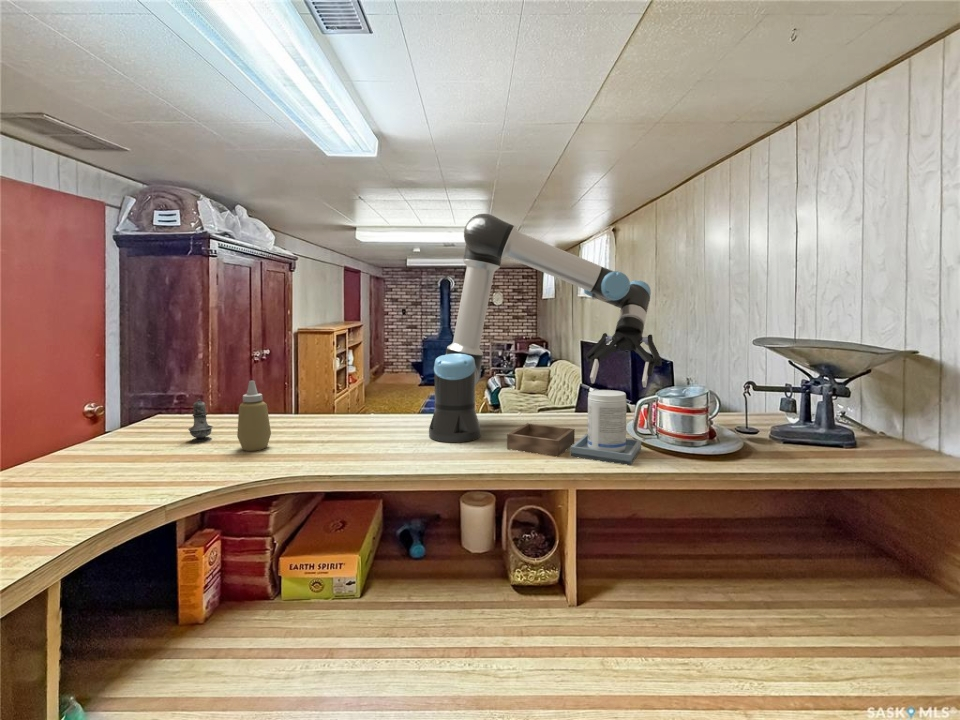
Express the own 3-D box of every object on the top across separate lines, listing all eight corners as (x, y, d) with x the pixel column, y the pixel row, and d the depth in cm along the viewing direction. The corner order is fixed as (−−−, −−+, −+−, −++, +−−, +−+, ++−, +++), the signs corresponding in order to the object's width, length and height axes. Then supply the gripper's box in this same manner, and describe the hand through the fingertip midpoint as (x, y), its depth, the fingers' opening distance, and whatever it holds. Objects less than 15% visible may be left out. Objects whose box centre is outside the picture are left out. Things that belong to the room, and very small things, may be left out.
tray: (570, 456, 119) (570, 446, 119) (586, 442, 132) (586, 433, 132) (630, 465, 112) (630, 455, 112) (640, 449, 125) (641, 440, 125)
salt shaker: (184, 441, 131) (181, 399, 130) (203, 436, 137) (201, 395, 136) (199, 444, 129) (196, 400, 128) (218, 438, 135) (215, 397, 133)
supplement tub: (632, 449, 122) (634, 392, 120) (613, 457, 115) (614, 397, 114) (599, 441, 129) (601, 388, 127) (579, 448, 122) (580, 392, 121)
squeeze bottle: (276, 448, 126) (274, 380, 124) (245, 454, 120) (241, 384, 118) (264, 442, 131) (261, 377, 129) (233, 448, 125) (229, 381, 123)
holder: (507, 449, 125) (507, 434, 125) (527, 436, 138) (527, 423, 137) (557, 456, 119) (558, 441, 118) (574, 443, 131) (574, 428, 131)
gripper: (677, 334, 135) (668, 394, 123) (590, 331, 146) (574, 386, 135) (676, 315, 129) (666, 377, 118) (586, 314, 141) (569, 370, 130)
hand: (617, 382), depth 126 cm, fingers open, 13 cm apart
